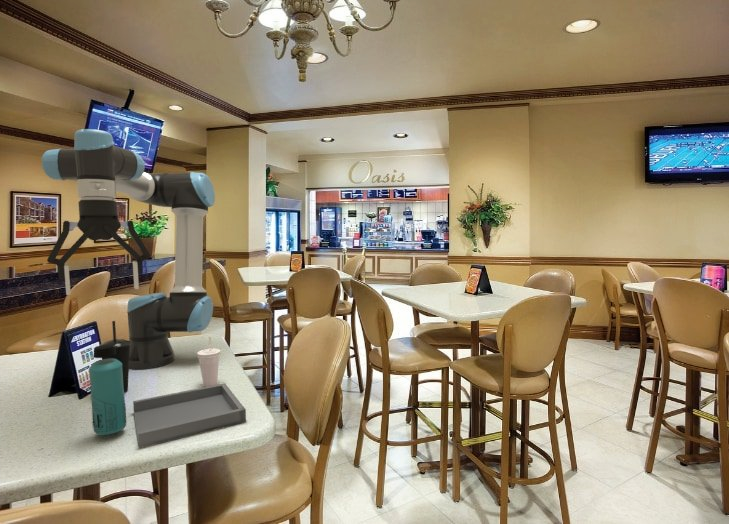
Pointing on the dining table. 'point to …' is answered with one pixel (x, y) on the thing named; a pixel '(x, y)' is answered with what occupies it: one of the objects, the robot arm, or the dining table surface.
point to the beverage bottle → (107, 392)
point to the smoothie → (209, 365)
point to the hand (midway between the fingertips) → (103, 291)
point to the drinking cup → (121, 355)
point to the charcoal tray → (186, 414)
